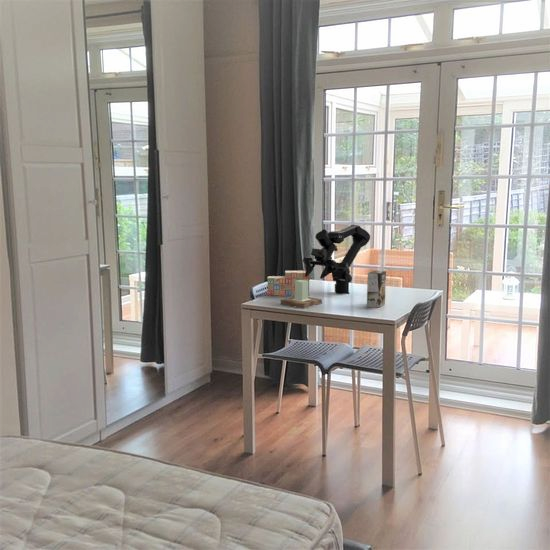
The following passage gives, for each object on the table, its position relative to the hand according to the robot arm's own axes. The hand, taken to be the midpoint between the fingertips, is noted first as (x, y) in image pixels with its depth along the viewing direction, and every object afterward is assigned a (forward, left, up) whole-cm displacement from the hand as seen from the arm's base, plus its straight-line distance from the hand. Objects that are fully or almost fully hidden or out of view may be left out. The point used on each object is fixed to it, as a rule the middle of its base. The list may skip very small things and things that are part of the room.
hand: (313, 277), depth 299 cm
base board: (+7, +6, -12) cm, 15 cm away
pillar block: (+7, +6, -9) cm, 13 cm away
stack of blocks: (+9, -17, -12) cm, 23 cm away
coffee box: (-27, +16, -12) cm, 33 cm away
